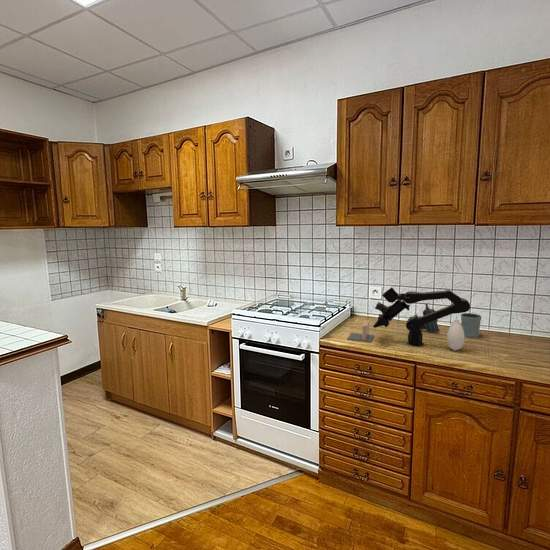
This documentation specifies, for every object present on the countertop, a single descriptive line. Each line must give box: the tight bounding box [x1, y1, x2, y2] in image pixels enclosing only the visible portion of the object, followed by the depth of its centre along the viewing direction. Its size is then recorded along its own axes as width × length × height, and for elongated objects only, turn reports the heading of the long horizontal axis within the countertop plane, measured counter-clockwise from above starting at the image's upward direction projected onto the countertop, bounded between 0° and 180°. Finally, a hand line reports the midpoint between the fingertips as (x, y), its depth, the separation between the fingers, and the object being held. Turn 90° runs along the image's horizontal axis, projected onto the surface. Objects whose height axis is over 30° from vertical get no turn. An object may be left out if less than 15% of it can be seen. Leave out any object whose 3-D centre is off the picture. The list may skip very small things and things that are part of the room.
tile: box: [361, 320, 370, 340], centre depth 195 cm, size 2×10×8 cm, turn 157°
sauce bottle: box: [446, 315, 465, 351], centre depth 174 cm, size 8×8×18 cm
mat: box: [347, 332, 375, 344], centre depth 196 cm, size 13×12×1 cm
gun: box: [422, 303, 441, 333], centre depth 207 cm, size 3×17×15 cm
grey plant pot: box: [460, 312, 482, 339], centre depth 197 cm, size 10×10×12 cm
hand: (373, 327), depth 193 cm, fingers closed
